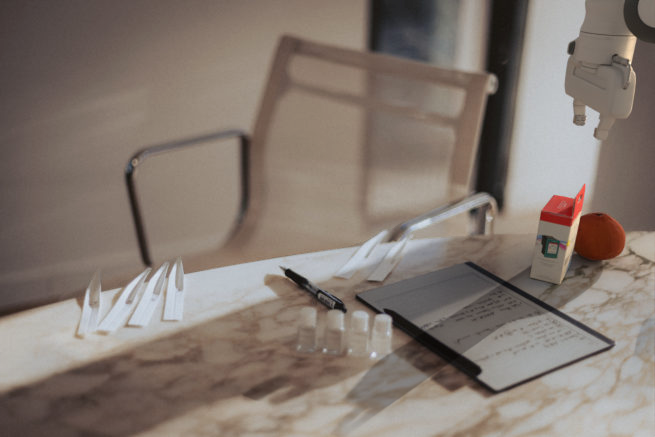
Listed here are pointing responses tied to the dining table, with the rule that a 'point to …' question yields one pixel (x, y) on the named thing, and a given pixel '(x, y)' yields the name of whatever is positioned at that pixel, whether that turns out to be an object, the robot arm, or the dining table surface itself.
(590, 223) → the fruit
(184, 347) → the dining table surface
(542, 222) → the ink box
